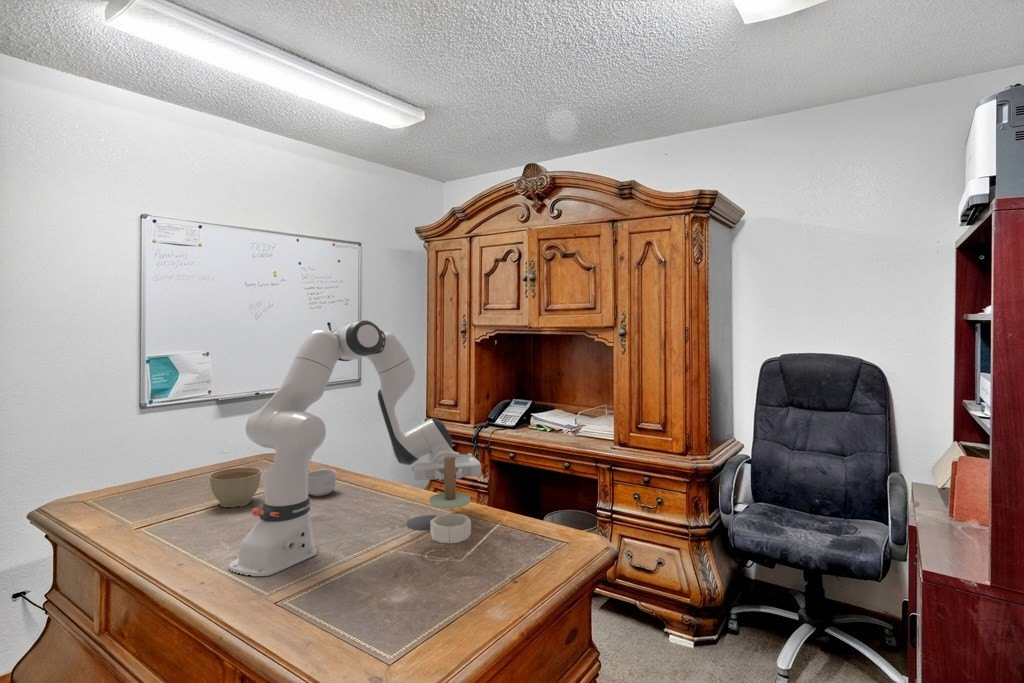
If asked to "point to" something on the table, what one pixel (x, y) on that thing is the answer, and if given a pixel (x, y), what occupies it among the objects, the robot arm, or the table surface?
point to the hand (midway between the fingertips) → (450, 476)
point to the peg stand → (449, 489)
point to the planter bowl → (235, 485)
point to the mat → (420, 522)
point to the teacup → (321, 482)
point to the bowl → (450, 528)
